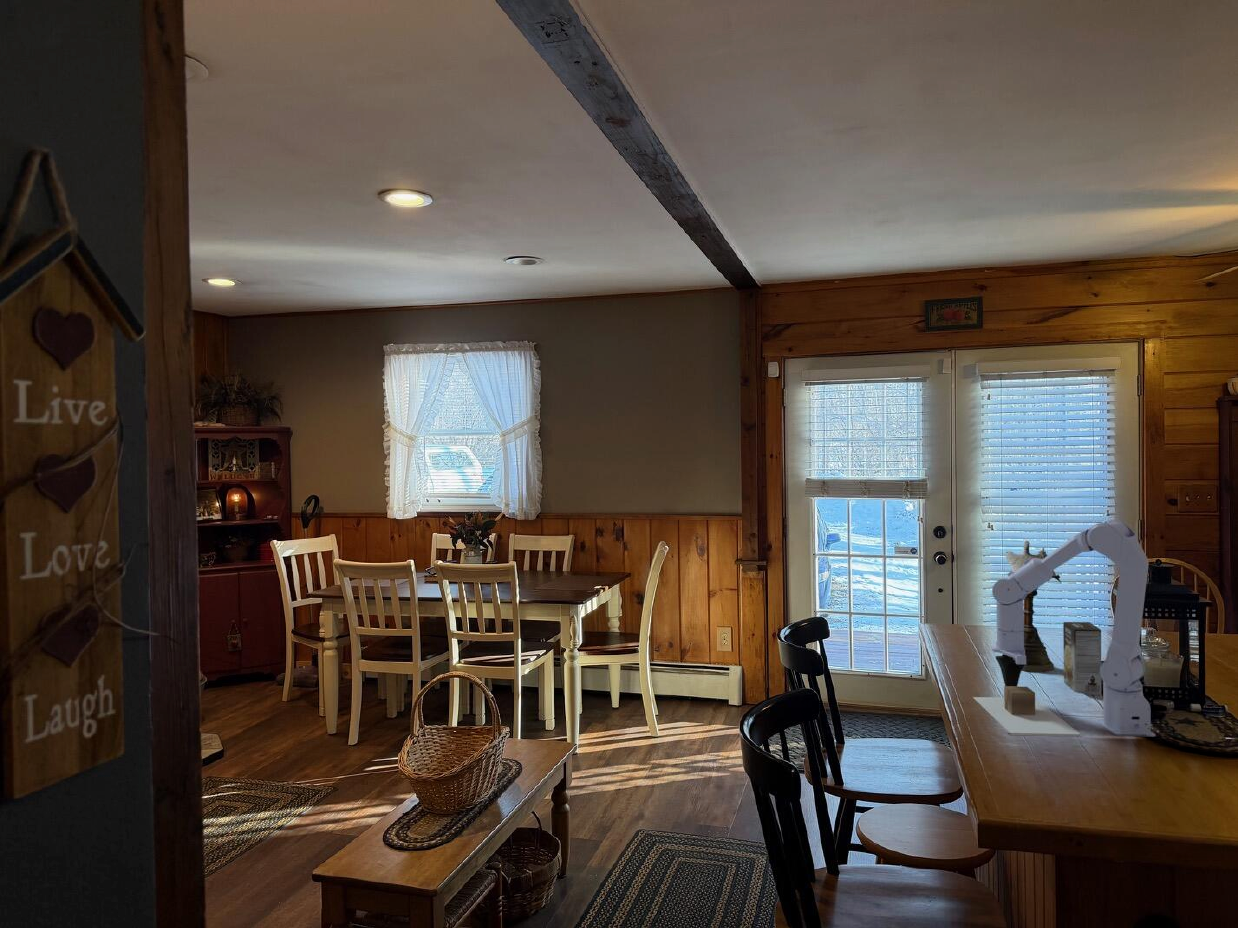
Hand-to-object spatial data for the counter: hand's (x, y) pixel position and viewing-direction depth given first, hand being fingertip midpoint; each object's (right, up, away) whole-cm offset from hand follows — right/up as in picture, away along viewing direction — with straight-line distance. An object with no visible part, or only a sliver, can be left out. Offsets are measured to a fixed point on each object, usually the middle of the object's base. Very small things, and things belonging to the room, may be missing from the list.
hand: (1010, 687), depth 197 cm
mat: (-1, -5, -8) cm, 9 cm away
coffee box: (+24, -4, +13) cm, 27 cm away
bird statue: (+22, -4, +33) cm, 40 cm away
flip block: (0, -1, -3) cm, 3 cm away
